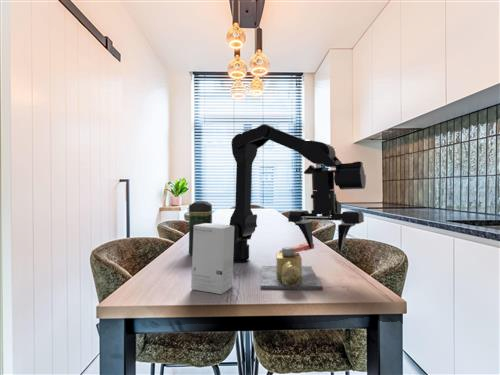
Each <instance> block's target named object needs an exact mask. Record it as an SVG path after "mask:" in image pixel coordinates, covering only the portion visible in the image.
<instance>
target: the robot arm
mask: <svg viewBox="0 0 500 375" xmlns="http://www.w3.org/2000/svg"><path fill="white" fill-rule="evenodd" d="M269 141H272V142H274V143H276V144H279V145H280V146H283V147H286V148H288V149H290V150H292V151H295V152H297V153H299V154H300V155H301V156H302V157H303V158H304V159H306V160H308V161H309V162H311V163H312V164H314V165H320V167H315V166H314V165H309V166H308V167H307V168H306V169H305V170H304V171H303V173H304V175H311V188H312V189H311V190H312V194H310V199H312V209H311V212H309V211H308V210H293V211H292V210H291V211H290V212H289V213H288V217H287V221H288V222H289V223H292V222H293V223H294V225H295V226H298V228H299V229H300V231H301V232H302V235H303V236H304V239H305V240H306V243H308V245H309V247H310V250H313V249H312V248H313V244H314V239H313V220H314V221H340V222H341V223H339V224H338V225H337V235H338V236H337V237H338V239H337V240H338V242H337V245H338V251H339V252H342V251H343V248H344V244H345V242H346V238H347V235H348V233H349V231H350V229H351V228H352V227H354V226H356V225H361V223H364V222H365V218H364V217H365V216H364V213H363V212H362V210H344V211H342V203H341V202H340V201H338V200H337V199H338V198H337V194H336V193H335V192H336V191H335V186H336V187H338V188H339V190H343V191H344V190H346V191H347V190H364V189H365V188H366V183H367V179H366V178H367V176H366V174H365V170H364V166H363V164H364V163H363V162H362V161H359V160H358V161H353V162H347V163H342V161H341V160H340V159H339V158H338V156H336V151H335V147H333V146H332V145H330V144H328V143H324V142H322V141H318V140H311V139H303V138H300V137H298V136H296V135H293V134H291V133H288V132H284V130H283V131H282V130H280V129H277V128H275V127H274V126H272V125H269V124H266V123H263V124H260V125H259V126H257V127H255V128H252V129H248V130H247V131H243V132H242V133H237V134H235V135H234V136H233V138H232V140H231V151H232V156H233V158H234V160H235V162H236V163H235V164H236V167H235V168H236V173H235V174H236V175H235V204H234V205H235V206H234V210H233V212H232V214H231V216H230V219H229V225H232V226H234V253H233V263H247V262H248V260H249V259H250V244H248V240H251V239H252V235H253V234H254V233H255V231H256V228H257V227H258V225H257V221H258V220H257V219H258V214H257V213H256V214H254V213H253V211H252V208H251V207H252V205H251V204H252V177H253V176H252V175H253V174H252V173H253V163H254V160H255V159H256V157H257V153H258V149H259V148H261V147H263V146H264V145H266V144H267V142H269ZM326 167H327V168H332V169H330V170H328V169H327V168H326Z"/></svg>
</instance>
